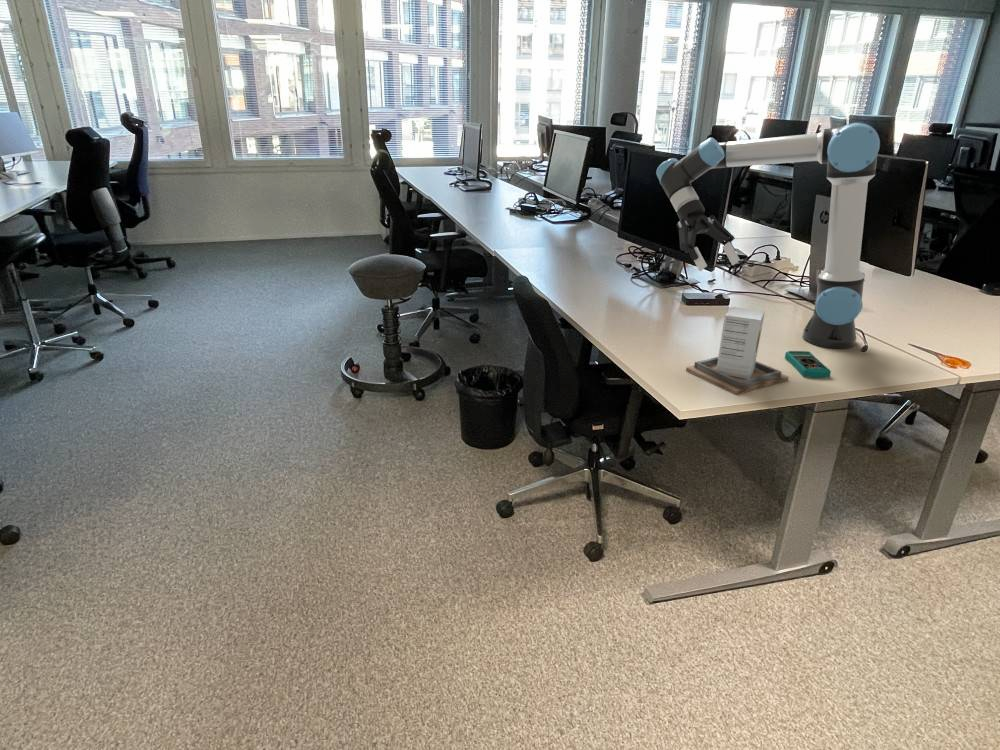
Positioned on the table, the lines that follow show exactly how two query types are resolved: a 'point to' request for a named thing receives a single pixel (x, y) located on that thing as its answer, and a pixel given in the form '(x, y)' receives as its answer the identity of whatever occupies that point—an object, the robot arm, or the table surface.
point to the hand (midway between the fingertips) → (720, 265)
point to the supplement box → (740, 342)
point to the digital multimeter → (807, 364)
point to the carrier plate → (737, 385)
